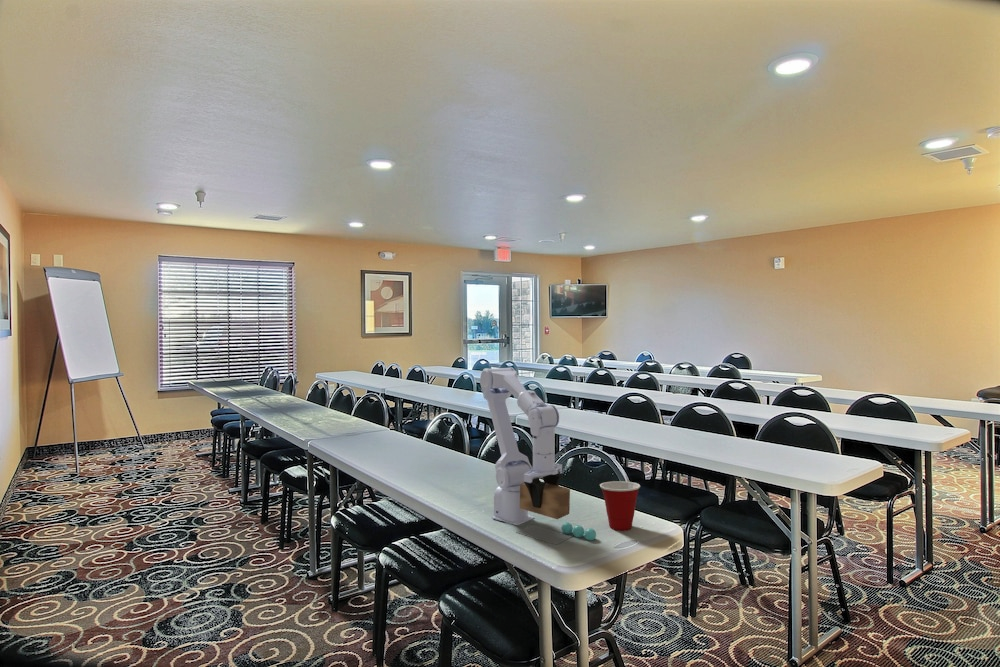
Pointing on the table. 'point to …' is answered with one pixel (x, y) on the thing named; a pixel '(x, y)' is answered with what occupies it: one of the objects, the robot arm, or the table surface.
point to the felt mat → (544, 534)
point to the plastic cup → (620, 503)
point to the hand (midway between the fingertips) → (543, 504)
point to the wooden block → (547, 501)
